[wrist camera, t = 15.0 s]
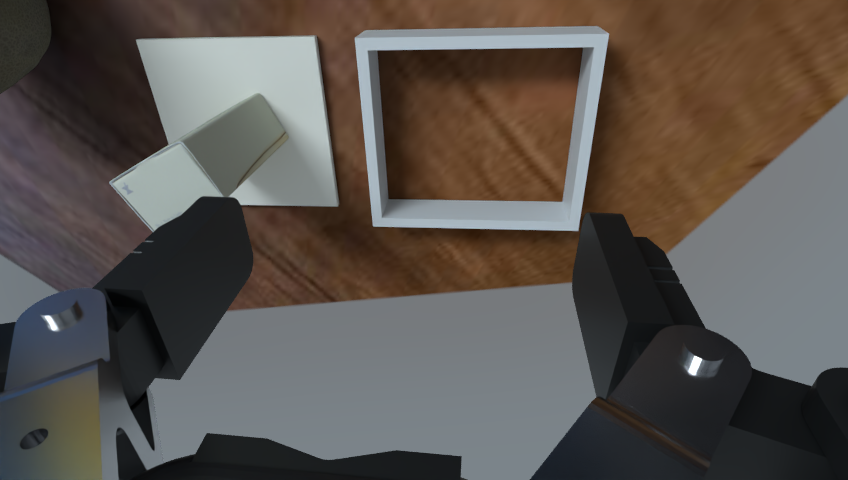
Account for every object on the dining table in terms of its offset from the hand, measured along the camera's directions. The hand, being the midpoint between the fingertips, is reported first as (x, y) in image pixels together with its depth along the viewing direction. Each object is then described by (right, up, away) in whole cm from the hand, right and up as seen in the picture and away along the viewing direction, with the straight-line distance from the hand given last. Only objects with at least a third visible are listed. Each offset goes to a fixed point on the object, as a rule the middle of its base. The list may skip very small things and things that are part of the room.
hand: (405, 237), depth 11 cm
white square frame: (+5, +9, +27) cm, 29 cm away
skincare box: (-14, +9, +29) cm, 33 cm away
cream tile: (-14, +9, +29) cm, 34 cm away
